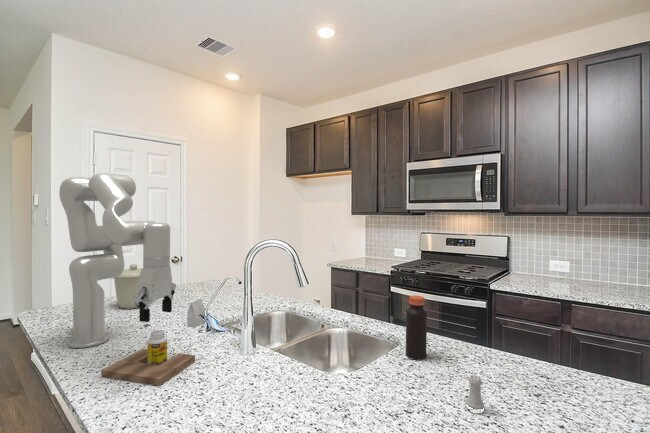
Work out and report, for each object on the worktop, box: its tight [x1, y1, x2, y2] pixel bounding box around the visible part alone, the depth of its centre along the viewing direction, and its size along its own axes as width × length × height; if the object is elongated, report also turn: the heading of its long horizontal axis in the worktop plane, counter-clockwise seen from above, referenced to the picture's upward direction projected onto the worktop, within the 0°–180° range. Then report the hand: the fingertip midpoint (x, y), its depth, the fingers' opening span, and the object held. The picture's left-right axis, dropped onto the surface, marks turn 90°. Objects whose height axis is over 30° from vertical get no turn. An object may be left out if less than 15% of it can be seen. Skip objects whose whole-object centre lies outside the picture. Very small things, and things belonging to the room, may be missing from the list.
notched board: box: [100, 348, 196, 387], centre depth 106 cm, size 20×16×2 cm
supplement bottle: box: [147, 329, 168, 365], centre depth 109 cm, size 6×6×10 cm
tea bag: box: [186, 298, 206, 328], centre depth 146 cm, size 4×7×10 cm, turn 164°
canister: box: [113, 263, 147, 310], centre depth 172 cm, size 18×18×21 cm
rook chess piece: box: [465, 374, 485, 409], centre depth 86 cm, size 4×4×8 cm
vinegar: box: [405, 294, 428, 360], centre depth 116 cm, size 7×7×20 cm
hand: (156, 316), depth 109 cm, fingers open, 9 cm apart
